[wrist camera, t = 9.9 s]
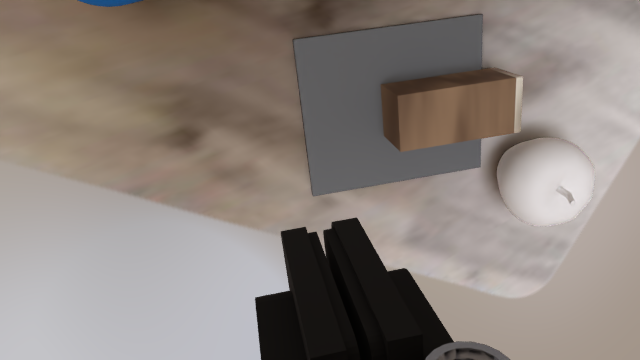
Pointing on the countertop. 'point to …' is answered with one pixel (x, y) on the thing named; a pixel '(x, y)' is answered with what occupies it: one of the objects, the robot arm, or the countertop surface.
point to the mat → (378, 100)
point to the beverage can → (109, 2)
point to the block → (451, 108)
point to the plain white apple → (545, 181)
